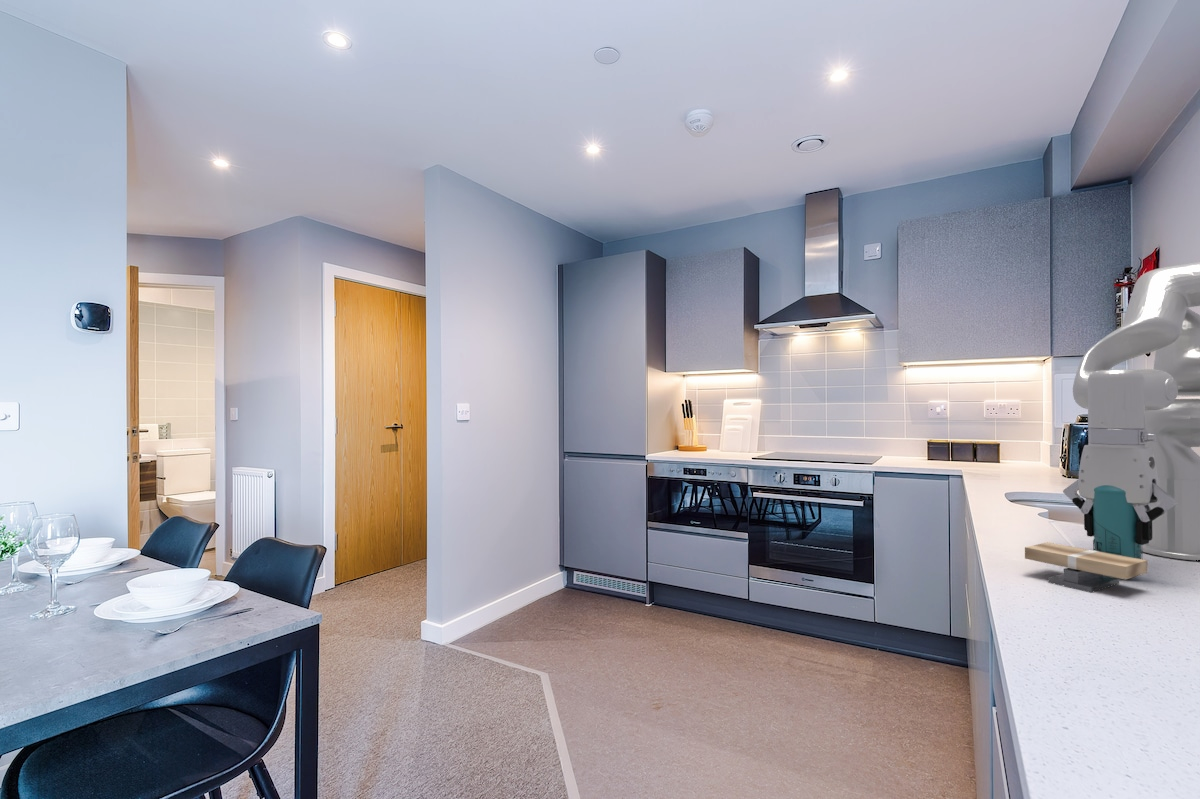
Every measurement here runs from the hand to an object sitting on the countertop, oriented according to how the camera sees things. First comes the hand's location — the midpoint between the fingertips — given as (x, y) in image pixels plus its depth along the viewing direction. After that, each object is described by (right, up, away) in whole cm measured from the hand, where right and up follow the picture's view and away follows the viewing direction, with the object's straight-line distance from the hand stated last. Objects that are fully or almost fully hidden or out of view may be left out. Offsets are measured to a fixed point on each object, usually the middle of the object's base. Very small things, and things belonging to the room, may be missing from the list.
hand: (1117, 538), depth 101 cm
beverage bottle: (0, -7, 0) cm, 7 cm away
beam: (-9, -4, -4) cm, 11 cm away
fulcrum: (-9, -7, -4) cm, 12 cm away
